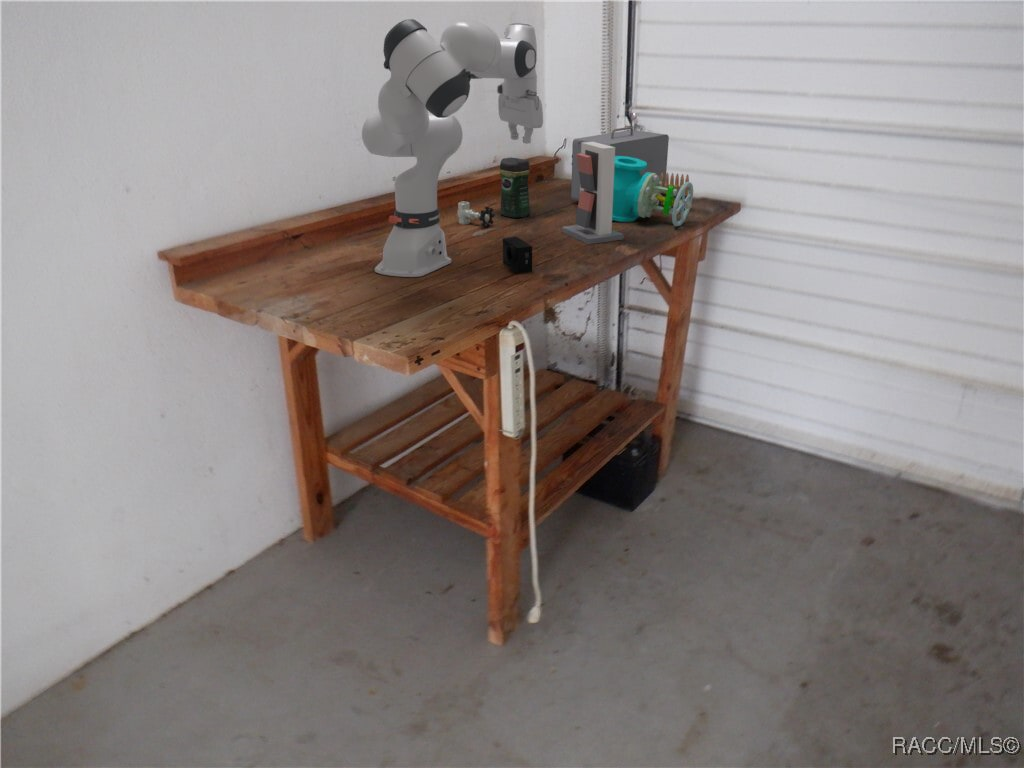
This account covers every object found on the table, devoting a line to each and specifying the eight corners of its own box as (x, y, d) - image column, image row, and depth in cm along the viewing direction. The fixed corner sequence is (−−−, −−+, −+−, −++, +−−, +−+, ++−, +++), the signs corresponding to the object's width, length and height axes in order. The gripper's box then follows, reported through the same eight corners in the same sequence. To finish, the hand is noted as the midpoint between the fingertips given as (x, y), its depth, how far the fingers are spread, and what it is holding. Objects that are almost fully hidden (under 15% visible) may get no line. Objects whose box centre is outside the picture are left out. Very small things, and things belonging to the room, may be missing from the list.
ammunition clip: (688, 209, 276) (691, 174, 271) (686, 211, 274) (689, 175, 269) (658, 206, 281) (660, 171, 276) (656, 207, 279) (658, 172, 274)
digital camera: (498, 263, 222) (498, 238, 219) (517, 261, 224) (516, 236, 221) (513, 274, 213) (513, 248, 210) (532, 271, 215) (532, 245, 212)
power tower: (594, 227, 256) (598, 139, 244) (623, 239, 243) (628, 147, 231) (561, 231, 251) (563, 143, 239) (588, 244, 238) (591, 151, 227)
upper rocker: (584, 186, 242) (580, 153, 238) (594, 190, 238) (590, 156, 233) (580, 187, 242) (576, 154, 237) (591, 191, 237) (587, 157, 232)
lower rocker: (578, 223, 247) (584, 190, 243) (588, 228, 242) (594, 194, 238) (574, 223, 246) (580, 190, 242) (585, 228, 241) (591, 194, 238)
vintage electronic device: (625, 189, 306) (629, 120, 295) (664, 197, 293) (669, 125, 283) (566, 203, 286) (568, 129, 276) (605, 212, 274) (609, 135, 263)
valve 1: (452, 224, 261) (482, 229, 254) (451, 203, 258) (481, 208, 252) (465, 220, 266) (494, 225, 259) (465, 200, 263) (494, 204, 256)
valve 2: (618, 153, 266) (705, 174, 253) (609, 206, 275) (693, 229, 262) (599, 160, 255) (689, 182, 243) (590, 215, 264) (677, 239, 251)
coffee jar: (533, 215, 270) (534, 158, 262) (516, 219, 265) (516, 161, 257) (513, 210, 276) (513, 154, 269) (496, 214, 272) (495, 157, 264)
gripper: (549, 91, 214) (548, 145, 220) (514, 85, 231) (514, 135, 237) (527, 92, 212) (527, 147, 217) (494, 86, 228) (494, 137, 234)
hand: (520, 141), depth 227 cm, fingers open, 6 cm apart
